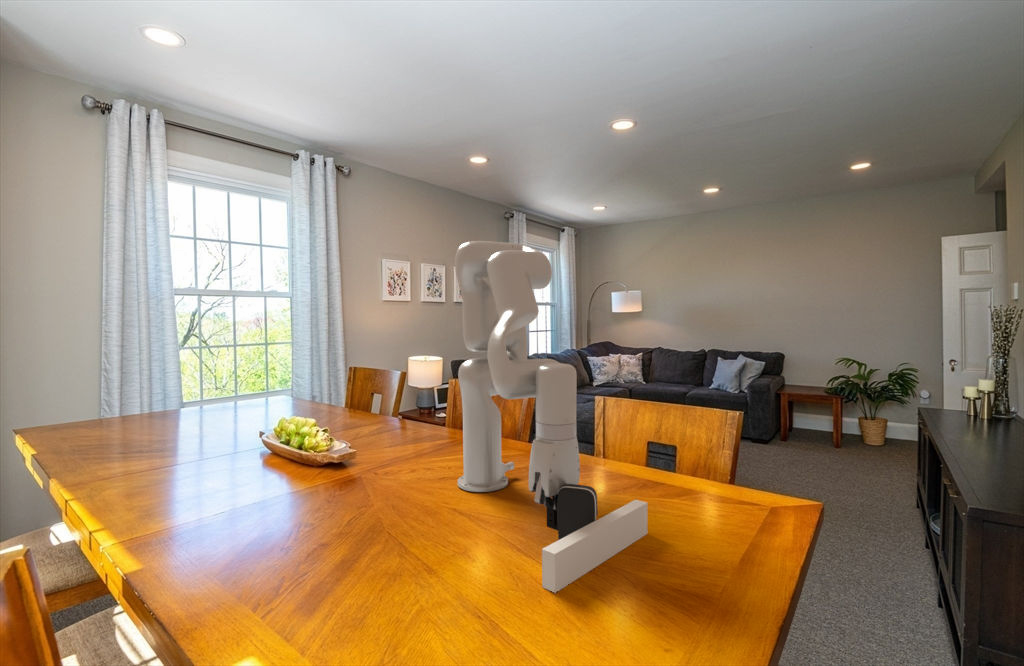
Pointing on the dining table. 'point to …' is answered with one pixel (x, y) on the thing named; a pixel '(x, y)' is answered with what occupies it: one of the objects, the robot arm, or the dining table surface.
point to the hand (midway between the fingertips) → (555, 527)
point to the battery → (575, 508)
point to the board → (592, 545)
